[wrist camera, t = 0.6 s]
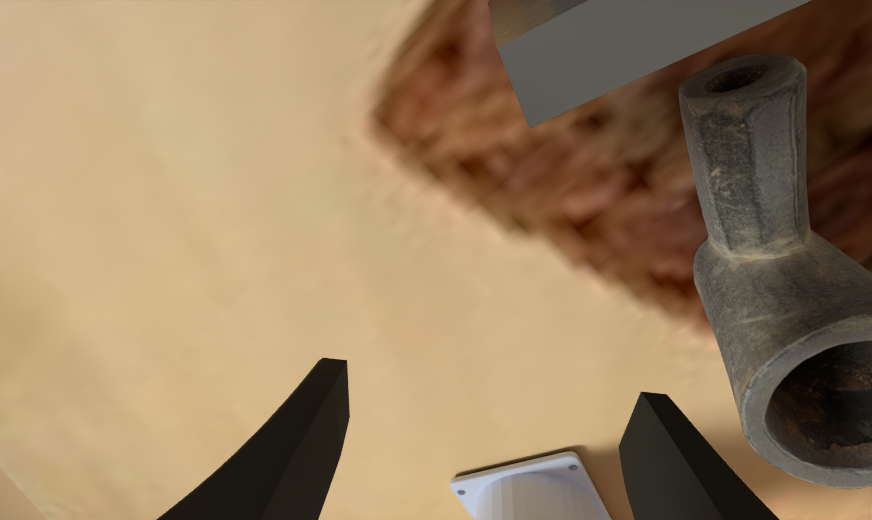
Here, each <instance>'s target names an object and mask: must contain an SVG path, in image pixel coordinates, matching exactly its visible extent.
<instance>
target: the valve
mask: <svg viewBox="0 0 872 520" xmlns="http://www.w3.org/2000/svg"><path fill="white" fill-rule="evenodd" d="M809 1H811V0H490V1H488V6H489V10H490V15H491V20H492V25H493V30H494V35H495V40H496V45H497V49H498V51H499V54H500V56H501V58H502V61H503V63H504V66H505V68H506V71H507V73H508V76H509V78H510V81H511V83H512V86H513V88H514V91H515V93H516V96H517V98H518V101H519V103H520V106H521V108H522V111H523V113H524V116H525V118H526V120H527V123H528V125H529V128H531V127H533V126H535V125H538V124H540V123H542V122H544V121H546V120H549V119H551V118H553V117H555V116H557V115H560V114H562V113H564V112H566V111H568V110H571V109H573V108H575V107H577V106H579V105H582V104H584V103H586V102H588V101H590V100H593V99H595V98H597V97H599V96H602V95H604V94H606V93H608V92H610V91H613V90H615V89H617V88H619V87H621V86H624V85H626V84H628V83H630V82H632V81H635V80H637V79H639V78H641V77H643V76H646V75H648V74H650V73H652V72H654V71H657V70H659V69H661V68H663V67H666V66H668V65H670V64H672V63H674V62H677V61H679V60H681V59H683V58H685V57H688V56H690V55H692V54H694V53H696V52H699V51H701V50H703V49H705V48H707V47H710V46H712V45H714V44H716V43H718V42H721V41H723V40H725V39H727V38H729V37H732V36H734V35H736V34H738V33H741V32H743V31H745V30H747V29H749V28H752V27H754V26H756V25H758V24H760V23H763V22H765V21H767V20H769V19H771V18H774V17H776V16H778V15H780V14H782V13H785V12H787V11H789V10H791V9H793V8H796V7H798V6H800V5H802V4H805V3H807V2H809Z"/></svg>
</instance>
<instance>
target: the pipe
mask: <svg viewBox="0 0 872 520" xmlns="http://www.w3.org/2000/svg"><path fill="white" fill-rule="evenodd" d="M678 92H679V104H680V111H681V117H682V122H683V127H684V132H685V137H686V142H687V147H688V152H689V157H690V161H691V166H692V170H693V175H694V180H695V184H696V189H697V194H698V198H699V201H700V205H701V208H702V213H703V217H704V221H705V224H706V228H707V231H708V238H707V239H706V240H705V241H704V242H703V243H702V244H701V245H700V247H699V249H698V251H697V253H696V255H695V258H694V265H693V272H694V281H695V285H696V288H697V290H698V293H699V295H700V298H701V300H702V303H703V306H704V310H705V312H706V315H707V317H708V320H709V322H710V325H711V327H712V330H713V332H714V335H715V337H716V340H717V342H718V345H719V348H720V352H721V355H722V358H723V361H724V364H725V367H726V371H727V374H728V377H729V380H730V384H731V388H732V391H733V395H734V398H735V402H736V406H737V409H738V413H739V416H740V420H741V424H742V428H743V431H744V434H745V436H746V438H747V441H748V443H749V444H750V446H751V447H752V448H753V449H754V450H755V451H756V452H757V453H758V454H759V455H760V456H761V457H763V458H764V459H765V460H766V461H767V462H768V463H770V464H771V465H772V466H774V467H775V468H778V469H780V470H782V471H784V472H786V473H788V474H790V475H792V476H795V477H797V478H800V479H803V480H805V481H808V482H811V483H815V484H818V485H822V486H827V487H836V488H839V489H853V488H854V489H860V488H862V487H869V486H872V273H871V272H870V271H868V270H867V269H865V268H864V267H863V266H861V265H860V264H859V263H857V262H856V261H855V260H853V259H852V258H850V257H849V256H848V255H846V254H845V253H843V252H842V251H841V250H839V249H838V248H836V247H835V246H834V245H832V244H831V243H829V242H828V241H826V240H825V239H824V238H822V237H821V236H819V235H818V234H816V233H815V232H814V231H812V230H811V229H810V222H809V212H808V198H807V185H806V142H807V131H806V98H807V68H806V67H805V66H804V65H803V64H802V63H800V62H799V61H798V60H797V59H796V58H795V57H792V56H785V55H779V54H753V55H744V56H738V57H734V58H730V59H728V60H726V61H724V62H721V63H719V64H716V65H714V66H711V67H709V68H706V69H704V70H702V71H699V72H697V73H695V74H694V75H693V76H691V77H689V78H687V79H686V80H684V81H683V82H682V83H681V84H680V87H679V89H678Z"/></svg>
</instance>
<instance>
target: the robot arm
mask: <svg viewBox="0 0 872 520" xmlns="http://www.w3.org/2000/svg"><path fill="white" fill-rule="evenodd" d="M349 417H350V414H349V393H348V372H347V360H338V359H329V358H322V359H321V360H319V361H318V362H317V364H316V365H315V366H314V367H313V369H312V370H311V371H310V372H309V374H308V375H307V376H306V377H305V379H304V380H303V381H302V382H301V383H300V385H299V386H298V387H297V388H296V389H295V390H294V392H293V393H292V394H291V395H290V396H289V397H288V399H287V400H286V401H285V402H284V403H283V404H282V405H281V406H280V407H279V408H278V410H277V411H276V412H275V413H274V414H273V415H272V416H271V417H270V418H269V419H268V421H267V422H266V423H265V424H264V425H263V426H262V427H261V428H260V429H259V430H258V431H257V432H256V433H255V434H254V435H253V436H252V437H251V438H250V439H249V440H248V441H247V442H246V443H245V444H244V445H243V446H242V447H241V448H240V449H239V450H238V451H237V452H236V453H235V454H234V455H233V456H232V457H230V458H229V459H228V460H227V461H226V462H225V463H224V464H223V465H222V466H221V467H220V468H218V469H217V470H216V471H215V472H214V473H213V474H212V475H211V476H209V477H208V478H207V479H206V480H205V481H204V482H202V483H201V484H200V485H199V486H198V487H197V488H195V489H194V490H193V491H192V492H191V493H189V494H188V495H187V496H186V497H184V498H183V499H182V500H181V501H179V502H178V503H177V504H176V505H174V506H173V507H172V508H171V509H169V510H168V511H167V512H166V513H164V514H163V515H162V516H160V517H159V518H158V519H157V520H318V519H319V516H320V513H321V510H322V507H323V505H324V502H325V499H326V496H327V493H328V490H329V488H330V485H331V482H332V479H333V476H334V473H335V471H336V468H337V465H338V462H339V459H340V456H341V452H342V448H343V443H344V439H345V435H346V431H347V426H348V422H349ZM619 452H620V459H621V465H622V471H623V476H624V482H625V487H626V491H627V495H628V499H629V502H630V505H631V509H632V512H633V516H634V519H635V520H779V519H778V518H777V517H776V516H775V515H774V513H773V512H772V511H771V510H770V509H769V508H768V507H767V506H766V505H765V504H764V503H763V502H762V501H761V500H760V499H759V498H758V497H757V496H756V495H755V494H754V493H753V492H752V491H751V490H750V489H749V488H748V487H747V485H746V484H745V483H744V482H743V481H742V480H741V479H740V478H739V477H738V476H737V475H736V474H735V472H734V471H733V470H732V469H731V468H730V467H729V466H728V465H727V464H726V462H725V461H724V460H723V459H722V458H721V457H720V456H719V455H718V453H717V452H716V451H715V450H714V449H713V448H712V447H711V445H710V444H709V443H708V442H707V441H706V440H705V438H704V437H703V436H702V435H701V434H700V433H699V431H698V430H697V429H696V428H695V427H694V426H693V424H692V423H691V422H690V421H689V420H688V419H687V417H686V416H685V415H684V414H683V413H682V411H681V410H680V409H679V408H678V407H677V406H676V404H675V403H674V402H673V401H672V400H671V399H670V398H669V396H668V395H667V394H658V393H649V392H641V393H640V395H639V398H638V400H637V403H636V405H635V408H634V410H633V413H632V415H631V418H630V420H629V423H628V425H627V427H626V430H625V432H624V435H623V437H622V440H621V442H620V445H619ZM450 488H451V490H452V491H453V492H454V494H455V495H456V496H457V498H458V499H459V500H460V502H461V503H462V504H463V506H464V507H465V508H466V509H467V511H468V512H469V513H470V515H471V516H472V517H473V519H474V520H612V519H611V517H610V515H609V513H608V511H607V509H606V508H605V506H604V504H603V502H602V500H601V498H600V496H599V494H598V492H597V491H596V489H595V487H594V485H593V483H592V481H591V479H590V477H589V476H588V474H587V472H586V470H585V468H584V466H583V464H582V462H581V460H580V459H579V457H578V455H577V454H576V453H574V452H571V451H567V452H562V453H558V454H554V455H550V456H545V457H541V458H537V459H532V460H528V461H524V462H520V463H515V464H511V465H507V466H502V467H498V468H494V469H489V470H485V471H481V472H477V473H472V474H468V475H464V476H459V477H455V478H453V479H451V481H450Z"/></svg>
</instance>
